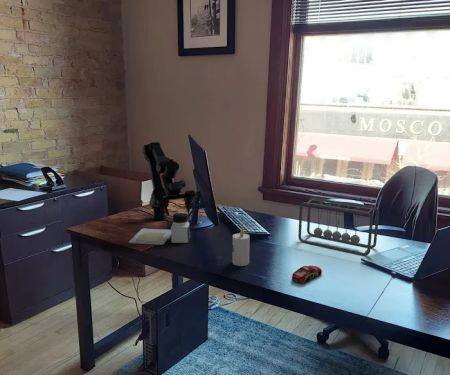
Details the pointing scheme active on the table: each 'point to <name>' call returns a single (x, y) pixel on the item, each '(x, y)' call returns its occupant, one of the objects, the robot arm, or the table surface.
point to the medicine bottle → (180, 228)
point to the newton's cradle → (337, 235)
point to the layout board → (151, 236)
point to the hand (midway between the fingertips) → (178, 214)
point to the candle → (241, 248)
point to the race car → (306, 274)
